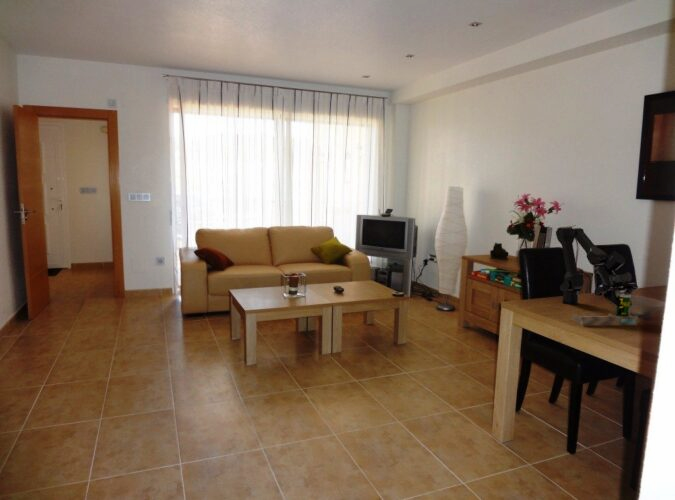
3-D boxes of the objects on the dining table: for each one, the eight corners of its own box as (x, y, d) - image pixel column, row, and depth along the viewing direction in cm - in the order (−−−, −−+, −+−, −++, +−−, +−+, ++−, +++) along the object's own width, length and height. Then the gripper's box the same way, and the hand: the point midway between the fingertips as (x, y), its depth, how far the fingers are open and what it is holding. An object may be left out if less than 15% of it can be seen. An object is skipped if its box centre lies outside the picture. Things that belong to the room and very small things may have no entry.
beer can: (612, 317, 208) (615, 291, 206) (625, 318, 207) (628, 292, 204) (616, 321, 203) (619, 294, 201) (630, 322, 201) (633, 295, 199)
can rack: (581, 325, 200) (582, 316, 200) (571, 319, 209) (572, 311, 208) (637, 325, 200) (638, 316, 199) (625, 319, 209) (626, 310, 208)
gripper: (601, 267, 202) (619, 298, 194) (637, 265, 206) (655, 295, 198) (586, 280, 211) (603, 310, 203) (621, 278, 215) (638, 307, 207)
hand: (625, 306), depth 202 cm, fingers closed on beer can, 5 cm apart
